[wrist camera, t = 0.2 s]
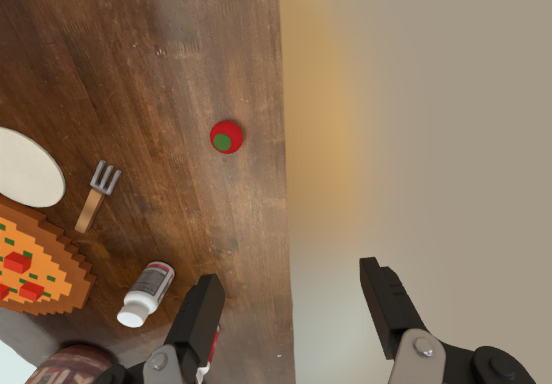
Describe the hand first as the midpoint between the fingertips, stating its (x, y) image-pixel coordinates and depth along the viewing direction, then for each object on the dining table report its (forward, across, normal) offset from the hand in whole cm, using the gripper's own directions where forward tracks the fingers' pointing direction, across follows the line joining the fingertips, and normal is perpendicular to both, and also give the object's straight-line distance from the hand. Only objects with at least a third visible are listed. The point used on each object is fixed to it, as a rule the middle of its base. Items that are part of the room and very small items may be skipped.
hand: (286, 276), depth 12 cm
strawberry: (+21, +7, -4) cm, 22 cm away
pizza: (+21, +57, +11) cm, 62 cm away
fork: (+21, +31, +2) cm, 37 cm away
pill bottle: (+21, +28, +19) cm, 40 cm away
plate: (+21, +40, -5) cm, 45 cm away
